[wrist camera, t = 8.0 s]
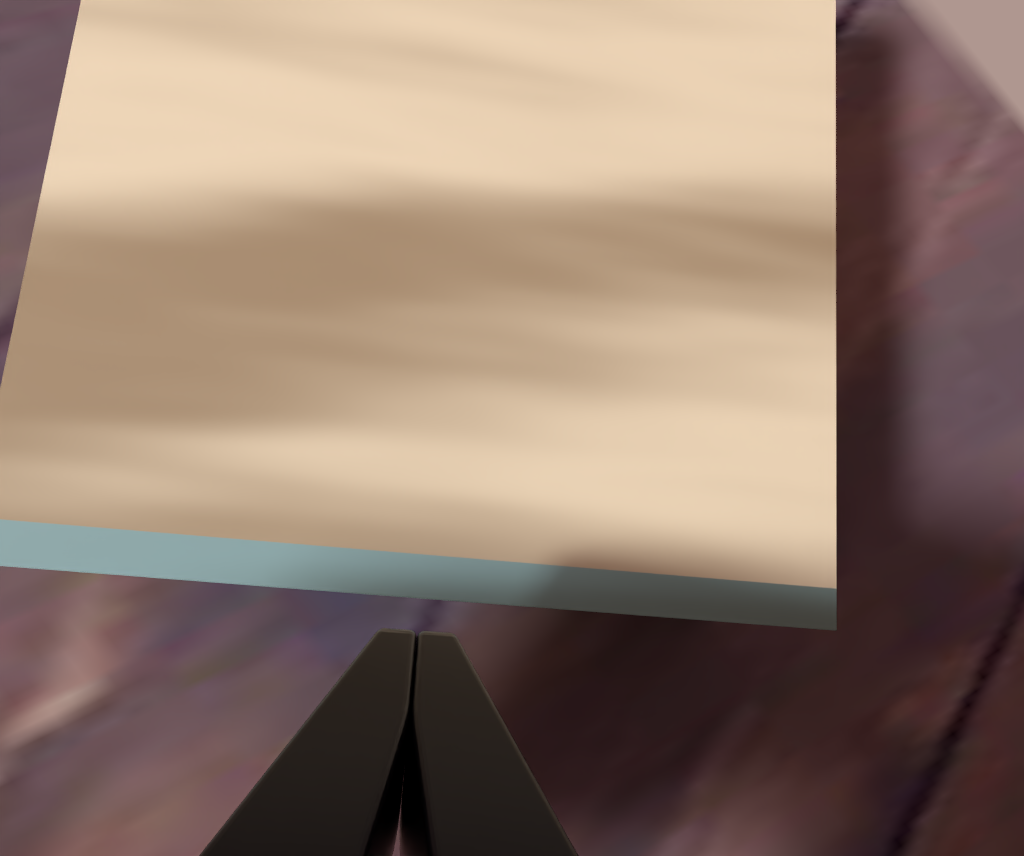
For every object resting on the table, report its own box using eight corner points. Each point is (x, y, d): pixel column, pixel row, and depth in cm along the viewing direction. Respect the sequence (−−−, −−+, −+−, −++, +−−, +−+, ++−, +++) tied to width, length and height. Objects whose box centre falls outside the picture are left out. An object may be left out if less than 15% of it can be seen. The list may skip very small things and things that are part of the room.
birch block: (836, 631, 12) (835, -76, 14) (-37, 562, 11) (121, -195, 13) (713, 617, 17) (728, 93, 19) (106, 569, 15) (202, 17, 18)
